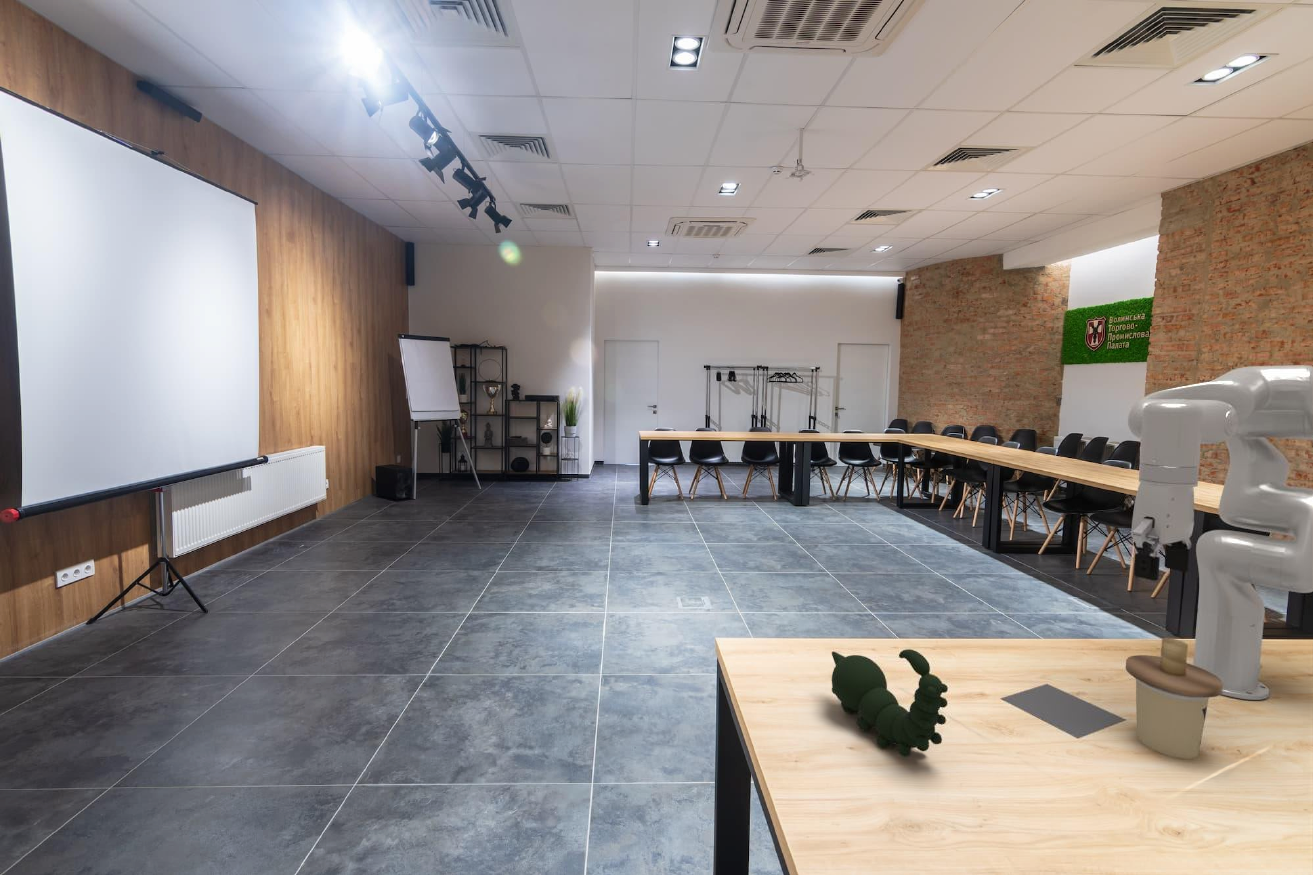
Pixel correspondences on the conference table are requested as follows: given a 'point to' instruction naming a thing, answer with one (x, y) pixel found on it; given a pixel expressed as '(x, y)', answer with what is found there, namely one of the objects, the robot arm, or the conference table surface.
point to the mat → (1063, 710)
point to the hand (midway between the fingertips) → (1161, 573)
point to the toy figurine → (890, 701)
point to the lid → (1174, 671)
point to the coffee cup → (1169, 721)
